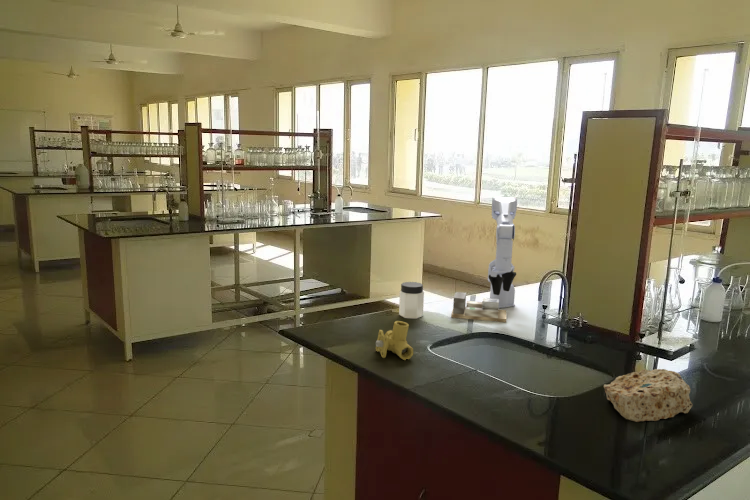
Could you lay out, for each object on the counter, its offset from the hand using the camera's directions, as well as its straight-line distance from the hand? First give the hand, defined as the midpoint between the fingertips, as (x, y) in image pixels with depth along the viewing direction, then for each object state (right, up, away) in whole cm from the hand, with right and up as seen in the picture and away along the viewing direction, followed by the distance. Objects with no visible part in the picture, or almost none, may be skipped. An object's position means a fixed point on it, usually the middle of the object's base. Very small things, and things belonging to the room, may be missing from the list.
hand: (501, 292), depth 209 cm
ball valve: (-42, -16, -38) cm, 59 cm away
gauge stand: (-8, -9, +4) cm, 12 cm away
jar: (-34, -9, +1) cm, 35 cm away
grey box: (-4, -8, +1) cm, 9 cm away
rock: (+20, -23, -69) cm, 76 cm away
